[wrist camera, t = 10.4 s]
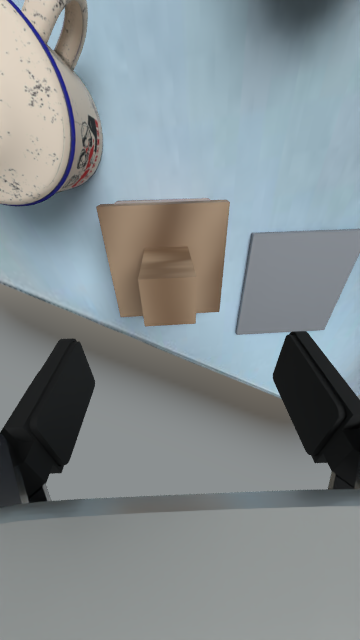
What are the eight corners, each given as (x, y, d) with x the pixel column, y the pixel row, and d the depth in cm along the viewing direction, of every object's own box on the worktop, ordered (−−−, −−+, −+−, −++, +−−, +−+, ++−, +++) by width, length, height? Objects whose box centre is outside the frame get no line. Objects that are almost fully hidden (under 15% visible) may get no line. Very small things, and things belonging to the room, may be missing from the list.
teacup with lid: (73, 213, 22) (5, 252, 13) (-31, 129, 18) (-243, 94, 9) (150, 92, 17) (135, 12, 8) (34, -57, 13) (-270, -570, 4)
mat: (366, 228, 25) (370, 229, 24) (321, 327, 33) (324, 329, 32) (251, 232, 24) (253, 234, 24) (235, 332, 32) (236, 334, 32)
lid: (226, 199, 18) (256, 219, 12) (216, 305, 24) (234, 353, 18) (99, 204, 17) (68, 226, 12) (122, 310, 23) (108, 360, 17)
